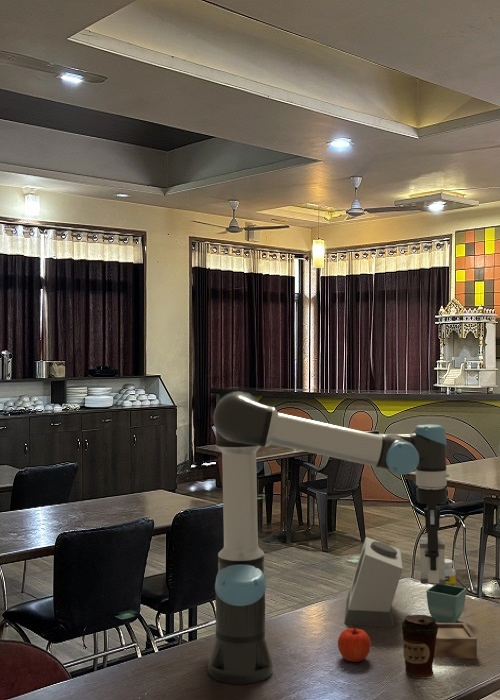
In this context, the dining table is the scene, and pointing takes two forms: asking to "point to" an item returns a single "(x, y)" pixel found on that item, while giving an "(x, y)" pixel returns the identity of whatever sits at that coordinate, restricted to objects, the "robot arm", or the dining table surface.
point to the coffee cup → (419, 645)
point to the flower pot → (446, 602)
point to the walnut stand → (455, 641)
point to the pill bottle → (449, 573)
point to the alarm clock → (374, 585)
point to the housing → (425, 561)
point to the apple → (354, 644)
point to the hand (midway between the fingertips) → (433, 578)
